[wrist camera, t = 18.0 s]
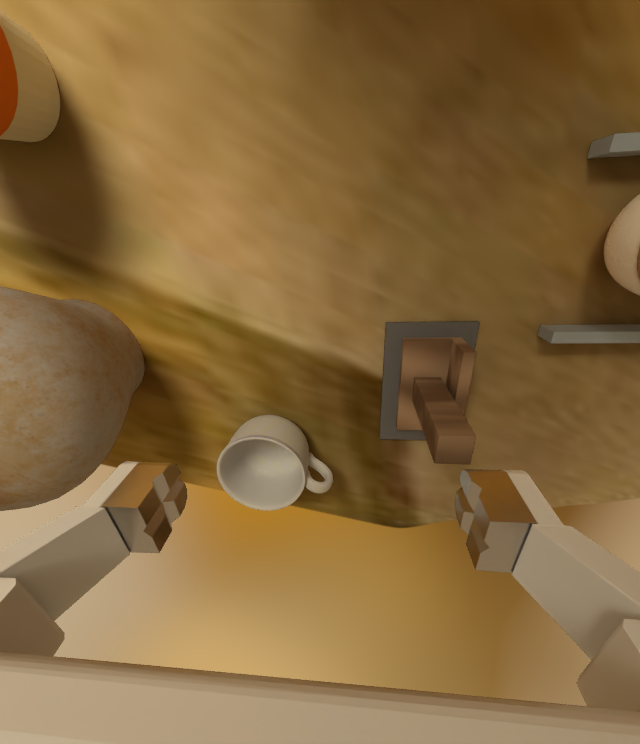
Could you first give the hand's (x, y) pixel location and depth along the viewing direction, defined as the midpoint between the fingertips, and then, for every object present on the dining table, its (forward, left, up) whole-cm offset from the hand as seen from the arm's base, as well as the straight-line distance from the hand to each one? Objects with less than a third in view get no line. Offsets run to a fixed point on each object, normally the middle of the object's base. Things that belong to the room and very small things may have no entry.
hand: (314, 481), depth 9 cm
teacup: (+20, -8, -28) cm, 35 cm away
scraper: (+11, +10, -27) cm, 31 cm away
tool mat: (+11, +10, -27) cm, 31 cm away
